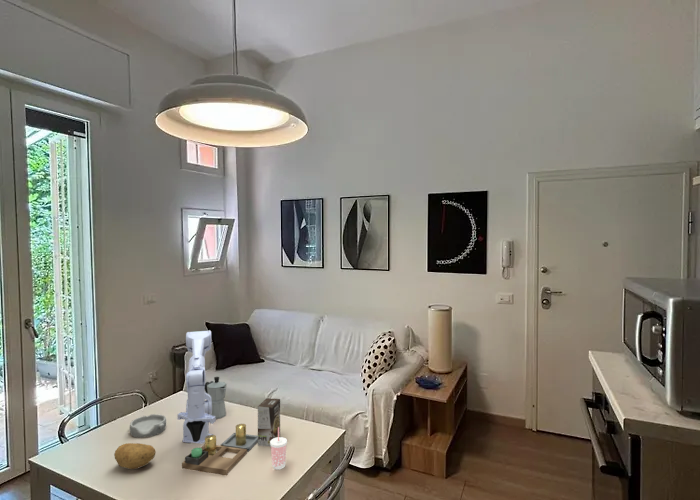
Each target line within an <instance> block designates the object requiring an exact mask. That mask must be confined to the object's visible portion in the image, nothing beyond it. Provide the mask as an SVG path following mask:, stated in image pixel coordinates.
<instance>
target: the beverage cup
mask: <svg viewBox="0 0 700 500" xmlns="http://www.w3.org/2000/svg"><path fill="white" fill-rule="evenodd" d="M287 444H288V440H287V438H286V437H283V436H280V437H279V427H278V437H276V438H273V439H272V440H271V441H270V446H271V447H270V450H271V453H270V454H271V463H272V464H271V465H272V468H273V469H274V470H281V469H284V468H285V466H286V461H287V460H286V459H287V457H286V456H287Z"/></svg>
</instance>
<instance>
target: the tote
mask: <svg viewBox="0 0 700 500" xmlns="http://www.w3.org/2000/svg"><path fill="white" fill-rule="evenodd" d="M257 444H258V435H254V434H247V433H246V444H245V445H242V446H237V445H236V432H233V433H232V434H231V435H230V436H229V437H228V438H226V439H225V440H224V441H223V442H222V443H221V444H220V446H226V447H234V448H241V449H247V453H249V451H251V450H252V448H254V447H255V445H257Z"/></svg>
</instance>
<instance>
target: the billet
mask: <svg viewBox="0 0 700 500" xmlns="http://www.w3.org/2000/svg"><path fill="white" fill-rule="evenodd" d="M235 433H236V445H237V446H242V445H245V444H246V434H247V425H246V424H245V423H239V424H236V425H235Z"/></svg>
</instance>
